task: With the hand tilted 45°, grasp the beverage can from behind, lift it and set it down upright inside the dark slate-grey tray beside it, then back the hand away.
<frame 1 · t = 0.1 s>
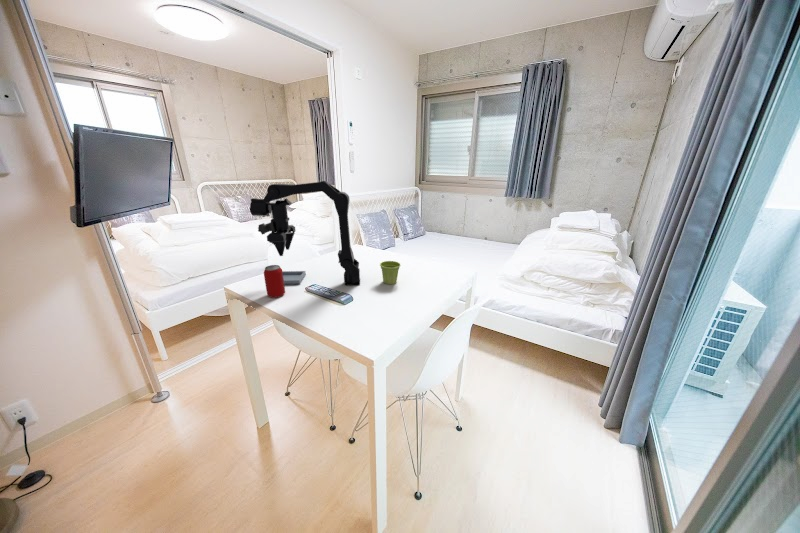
hand: (284, 252, 116), 15 cm above the table, tool pointing down, fingers open, 9 cm apart
slate tray: (290, 279, 126), on the table
beverage can: (276, 295, 111), on the table
plant pot: (390, 282, 126), on the table
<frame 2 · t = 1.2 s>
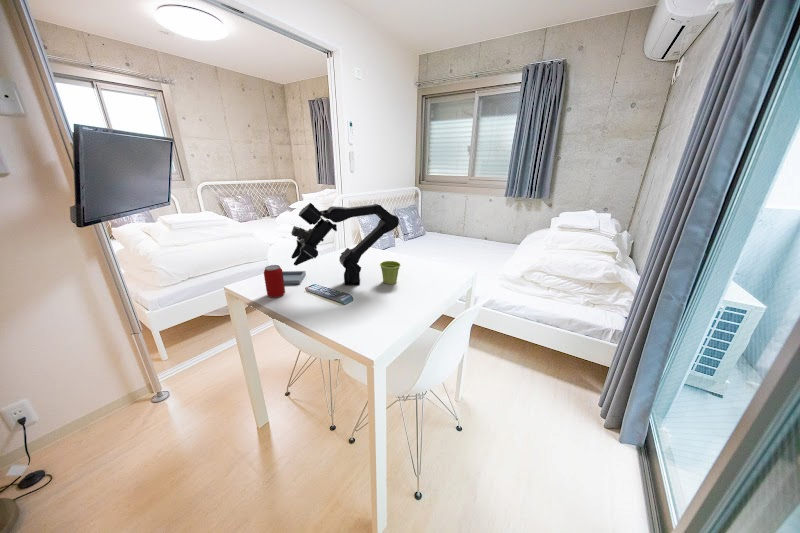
hand: (293, 261, 109), 13 cm above the table, tool tilted 45°, fingers open, 9 cm apart
nothing on the table moved.
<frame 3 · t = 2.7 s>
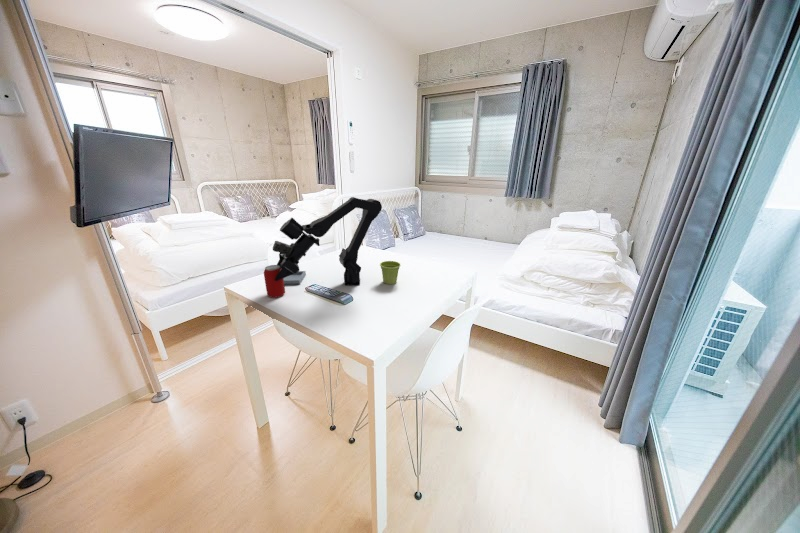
hand: (274, 276, 108), 8 cm above the table, tool tilted 45°, fingers open, 9 cm apart
nothing on the table moved.
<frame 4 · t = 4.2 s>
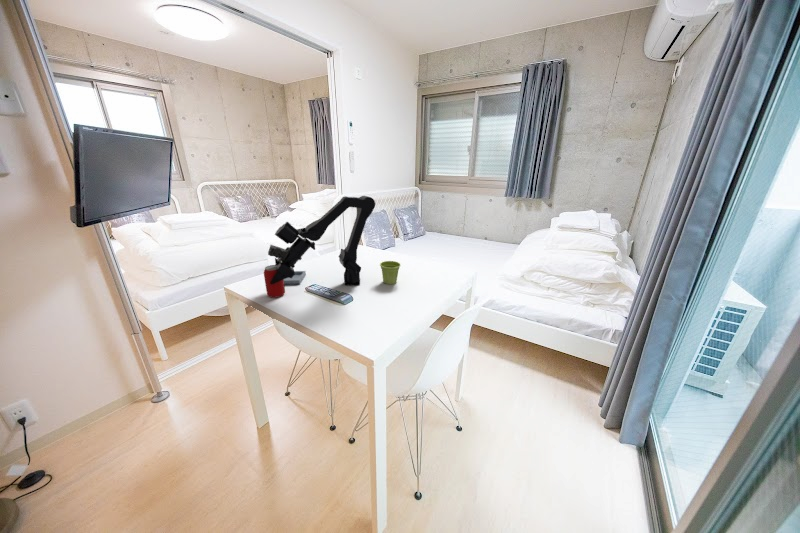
hand: (270, 280, 108), 7 cm above the table, tool tilted 45°, fingers closed on beverage can, 7 cm apart
beverage can: (276, 295, 111), on the table, touching gripper
everything else where it was.
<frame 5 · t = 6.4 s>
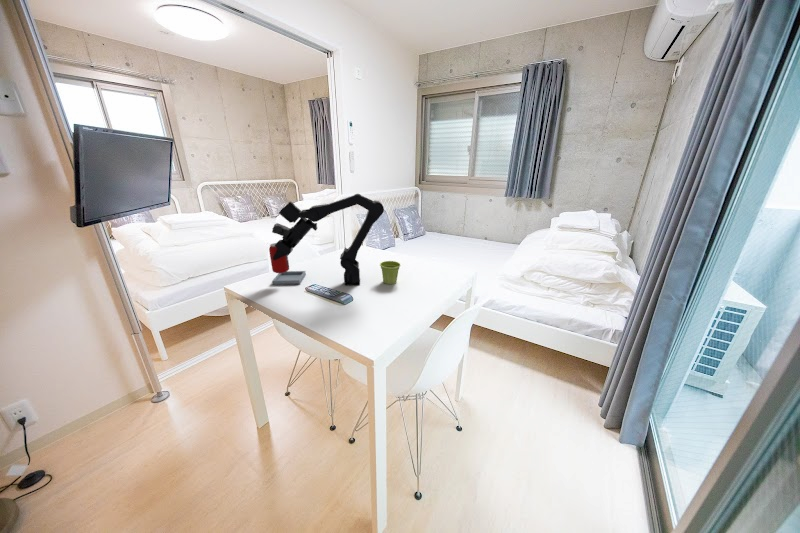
hand: (275, 256, 115), 13 cm above the table, tool tilted 45°, fingers closed on beverage can, 7 cm apart
beverage can: (281, 271, 117), point 6 cm above the table, touching gripper
everything else where it was.
when the fingers open (8 cm above the table, at t = 9.0 s): beverage can drops 1 cm, resting on slate tray.
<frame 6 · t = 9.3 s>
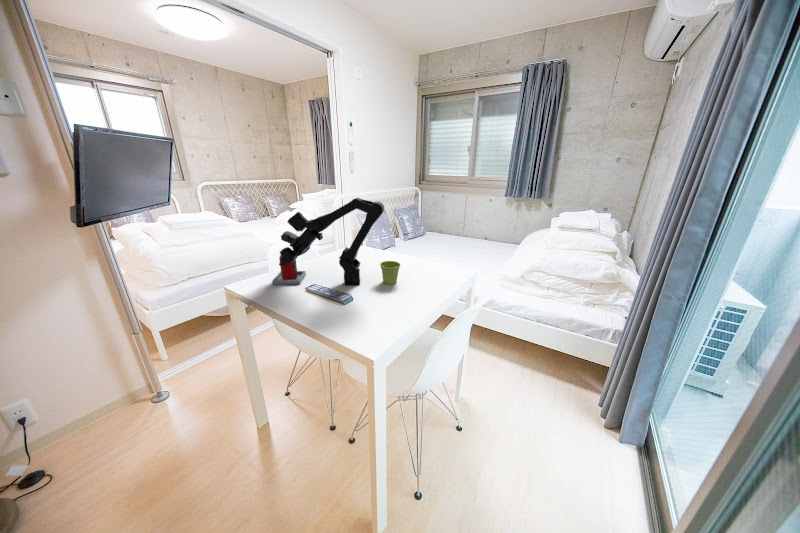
hand: (284, 262, 123), 9 cm above the table, tool tilted 45°, fingers open, 9 cm apart
beverage can: (290, 279, 125), resting on slate tray
everything else where it was.
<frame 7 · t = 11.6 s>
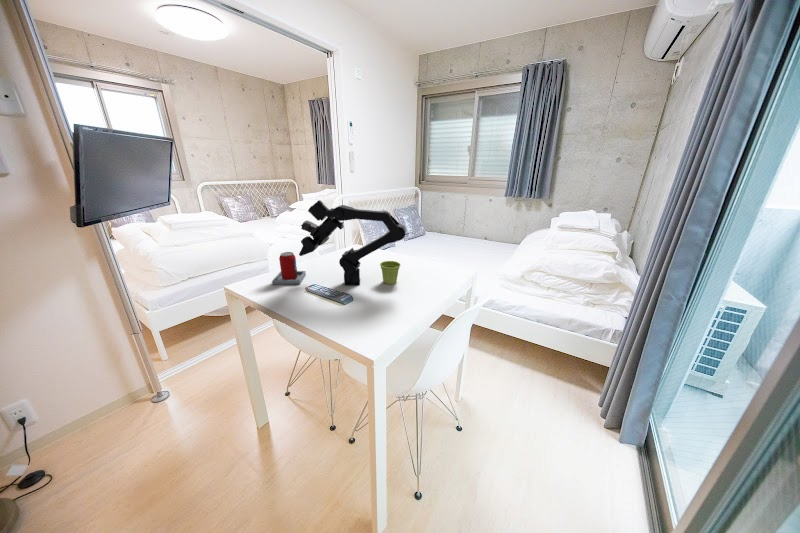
hand: (304, 252, 121), 14 cm above the table, tool tilted 45°, fingers open, 9 cm apart
nothing on the table moved.
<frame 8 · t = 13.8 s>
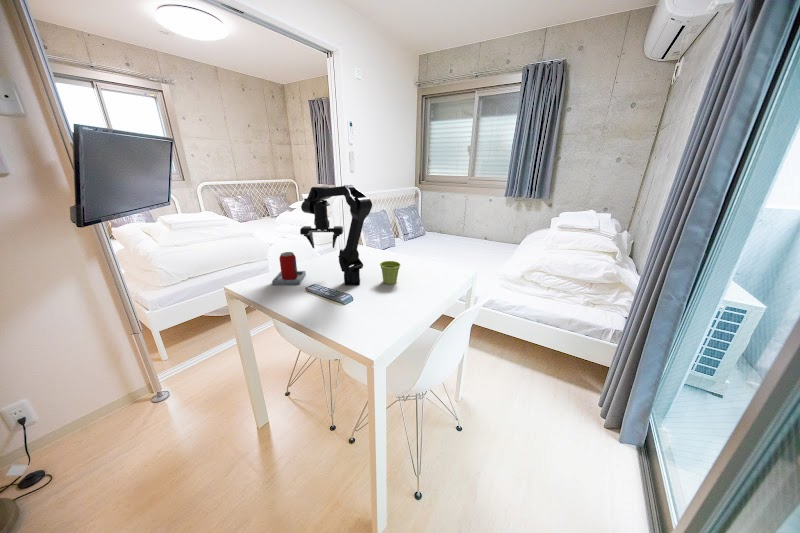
hand: (323, 248, 129), 13 cm above the table, tool pointing down, fingers open, 9 cm apart
nothing on the table moved.
at the end: beverage can 0.2 cm off-centre on the slate tray, point 0.4 cm above the slate tray's base; beverage can tilted 0°; the gripper is holding nothing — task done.
